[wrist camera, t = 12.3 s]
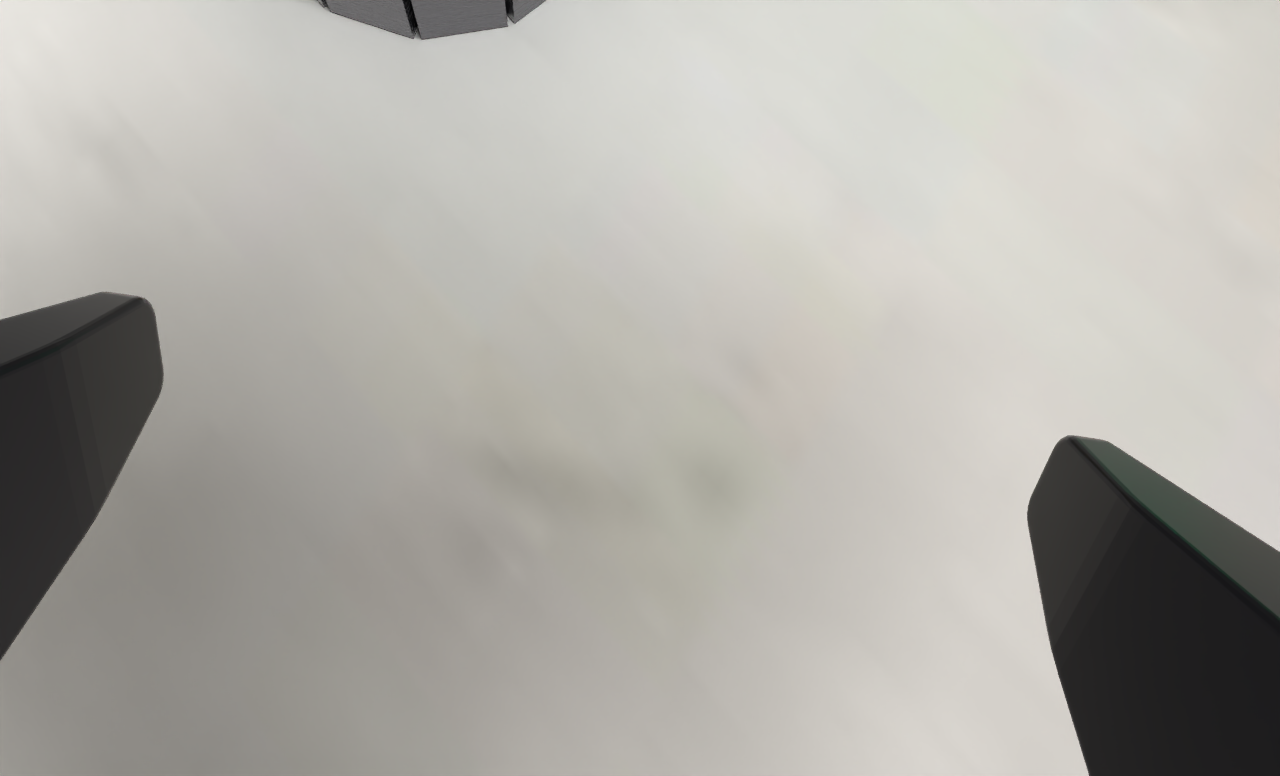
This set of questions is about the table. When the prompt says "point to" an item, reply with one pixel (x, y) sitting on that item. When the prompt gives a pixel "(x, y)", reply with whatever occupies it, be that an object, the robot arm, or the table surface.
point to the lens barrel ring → (433, 14)
